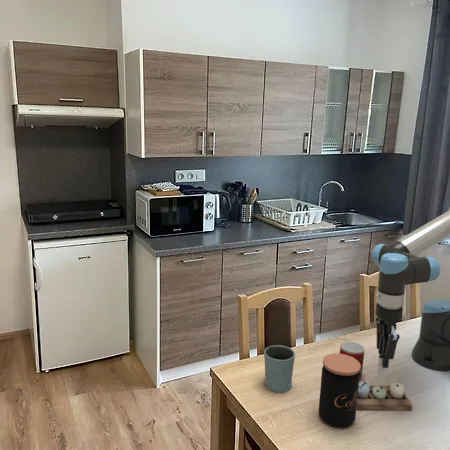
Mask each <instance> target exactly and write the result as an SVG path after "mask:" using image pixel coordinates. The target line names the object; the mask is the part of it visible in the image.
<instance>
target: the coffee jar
mask: <svg viewBox="0 0 450 450" xmlns="http://www.w3.org/2000/svg"><path fill="white" fill-rule="evenodd" d="M322 364H323V365H322V369H321V378H320V389H319V401H318V402H319V403H318V414H319V417H320V418H321V419H322V421H323V422H324V423H326V424H327V425H328V426H331V427H333V428H338V429H339V428H340V429H341V428H347V427H350V426H352V425H353V423H355V421H356V414H357V410H356V407H357V398H358V388H359V382H360V380H361V379H360V372H359V371H360V368H361V365H360V363H359V362H358V361H357V360H356V359H355V358H353V357H351V356H348V355H344V354H340V353H330V354H327V355H325V356H324V357H323V359H322ZM359 379H360V380H359Z"/></svg>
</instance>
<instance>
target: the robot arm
mask: <svg viewBox="0 0 450 450" xmlns="http://www.w3.org/2000/svg"><path fill="white" fill-rule="evenodd" d="M449 237H450V207H449V208H448V211H446V212H444V213H443V214H441V215H438V216H437V217H435V218H434V219H432V220H430V221H429V222H426V223H425V224H423V225H421V226H420V227H418V228H417V229H415V230H413V231H411V232H410V233H408V234H406V235H404V236H403V237H401V238H399V239H397V240H396V241H394V242H393V243H391V244H387V243H385V244H384V243H378V244H377V245H375V246H374V247H373V249H372V251H371V261H372V262H373V263H374V264H375V265H376V266H379V268H378V269H379V270H378V281H377V282H378V284H377V293H376V294H375V296H376V297H375V298H376V305H375V315H376V317H375V322H376V349H377V351H378V354H379V355H378V364H377V375H378V376H379V377H388V376H389V367H390V360H393V359H394V357H395V355H396V354H395V353H396V349H397V345H398V341H399V340H400V338H401V337H400V334H398V333H397V332H396V330H397V322H398V321H400V320H401V319H402V318H403V311H404V310H403V306H404V301H405V291H406V290H405V289H406V286H408V285H413V284H420V283H421V284H422V283H428V282H431V281H435V280H437V279H438V278H439V276H440V274H441V265H440V263H439V261H438V260H437V259H436V257H432V256H426V255H425V256H422V257H421V256H419V255H421V254H422V253H425V252H426V251H427V250H429V249H431V248H432V247H434V246H436V245H437V244H439V243H440V242H442V241H444V240H446V239H448V238H449ZM411 357H412V360H413V361H414V362H416V363H417V364H418V365H420V366H422V367H424V368H427V369H429V370H434V371H440V372H441V371H443V372H444V371H445V372H448V371H450V300H445V299H432V300H428V301H426V302H425V303H424V304H423V307H422V311H421V321H420V329H419V337H418V339H417V340H416V342H415V344H414V346H413V348H412V352H411Z"/></svg>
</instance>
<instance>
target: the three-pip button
mask: <svg viewBox="0 0 450 450" xmlns="http://www.w3.org/2000/svg"><path fill="white" fill-rule="evenodd" d="M369 386H370V385H369V384H368V383H367V382H365V381H359V388H358V397H359V398H368V395H369Z"/></svg>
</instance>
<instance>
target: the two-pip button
mask: <svg viewBox="0 0 450 450" xmlns="http://www.w3.org/2000/svg"><path fill="white" fill-rule="evenodd" d="M373 386H374V387H373V392H372V396H373V398H374V399H385V398H386V389H385V388H383V387H381V386H382V385H373Z"/></svg>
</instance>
